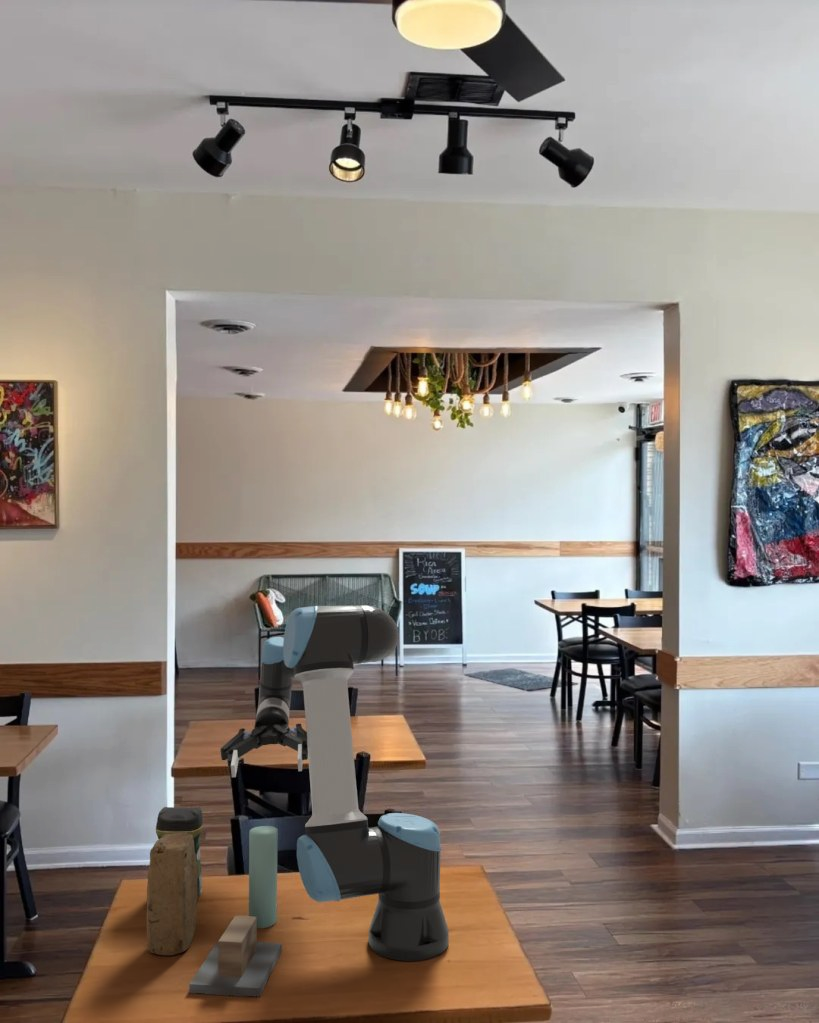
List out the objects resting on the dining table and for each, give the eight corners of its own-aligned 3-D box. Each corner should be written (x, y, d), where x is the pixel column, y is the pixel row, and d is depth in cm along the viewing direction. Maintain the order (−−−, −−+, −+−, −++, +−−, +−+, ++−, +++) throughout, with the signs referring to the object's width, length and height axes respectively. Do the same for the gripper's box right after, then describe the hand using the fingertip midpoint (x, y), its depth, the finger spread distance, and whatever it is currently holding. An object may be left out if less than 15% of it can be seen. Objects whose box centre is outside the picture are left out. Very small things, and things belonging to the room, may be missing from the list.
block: (182, 959, 162) (183, 848, 162) (142, 957, 163) (143, 847, 163) (201, 932, 173) (202, 828, 173) (163, 930, 174) (164, 826, 174)
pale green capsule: (281, 917, 180) (282, 827, 180) (269, 929, 174) (270, 836, 174) (255, 914, 181) (256, 824, 181) (243, 926, 176) (244, 833, 176)
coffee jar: (150, 904, 185) (151, 814, 185) (160, 888, 193) (161, 802, 193) (198, 904, 185) (199, 814, 186) (205, 888, 193) (206, 802, 194)
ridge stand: (218, 947, 167) (218, 907, 167) (281, 951, 166) (282, 910, 166) (189, 993, 151) (189, 948, 151) (259, 997, 150) (259, 952, 150)
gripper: (328, 731, 207) (328, 779, 186) (218, 740, 205) (206, 790, 184) (325, 701, 205) (326, 746, 184) (215, 710, 203) (203, 757, 183)
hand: (266, 768), depth 184 cm, fingers open, 13 cm apart
